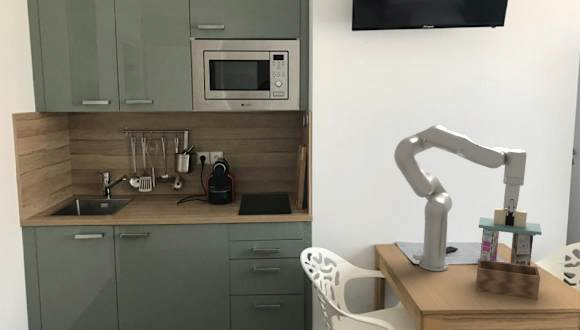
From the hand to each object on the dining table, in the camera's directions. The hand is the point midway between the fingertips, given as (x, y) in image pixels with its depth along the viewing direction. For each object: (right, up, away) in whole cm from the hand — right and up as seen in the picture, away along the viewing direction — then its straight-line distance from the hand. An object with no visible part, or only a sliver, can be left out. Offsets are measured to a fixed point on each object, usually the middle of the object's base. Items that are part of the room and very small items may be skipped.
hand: (509, 223), depth 206 cm
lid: (0, -2, 0) cm, 2 cm away
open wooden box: (-4, -25, -6) cm, 26 cm away
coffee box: (+13, -21, +18) cm, 31 cm away
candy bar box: (+1, -20, +24) cm, 32 cm away
